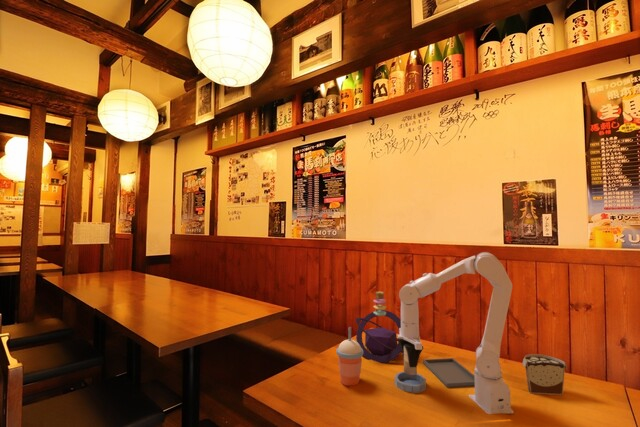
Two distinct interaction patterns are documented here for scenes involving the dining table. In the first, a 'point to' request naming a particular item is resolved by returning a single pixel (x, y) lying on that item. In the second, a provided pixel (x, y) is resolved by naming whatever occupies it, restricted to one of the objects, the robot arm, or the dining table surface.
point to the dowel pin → (407, 368)
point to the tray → (450, 372)
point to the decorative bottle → (379, 335)
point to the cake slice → (544, 374)
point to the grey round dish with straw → (349, 361)
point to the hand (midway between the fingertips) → (410, 363)
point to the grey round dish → (410, 382)
